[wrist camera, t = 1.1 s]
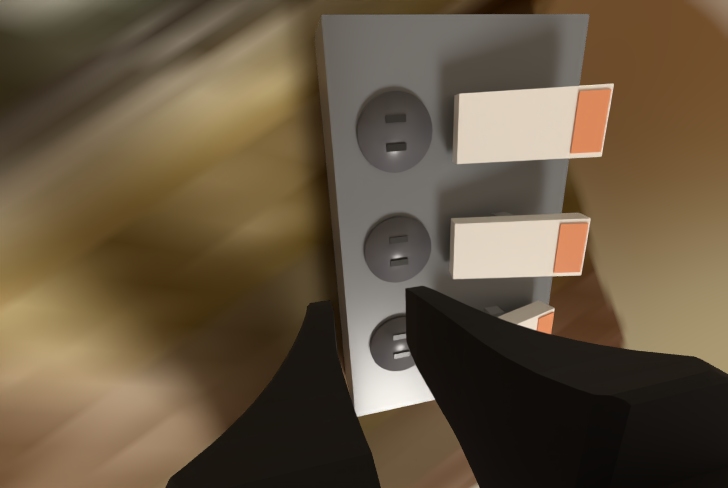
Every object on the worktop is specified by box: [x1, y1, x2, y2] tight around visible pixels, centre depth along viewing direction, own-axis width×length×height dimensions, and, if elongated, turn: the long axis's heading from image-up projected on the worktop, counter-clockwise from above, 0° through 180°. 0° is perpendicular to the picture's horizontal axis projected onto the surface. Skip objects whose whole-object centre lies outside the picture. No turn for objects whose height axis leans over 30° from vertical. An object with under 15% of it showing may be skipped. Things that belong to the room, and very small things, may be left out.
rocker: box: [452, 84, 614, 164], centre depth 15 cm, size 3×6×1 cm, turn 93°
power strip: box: [314, 14, 589, 417], centre depth 19 cm, size 20×12×4 cm, turn 3°
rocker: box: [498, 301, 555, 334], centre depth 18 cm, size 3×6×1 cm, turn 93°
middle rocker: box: [449, 213, 591, 279], centre depth 16 cm, size 3×6×1 cm, turn 93°
